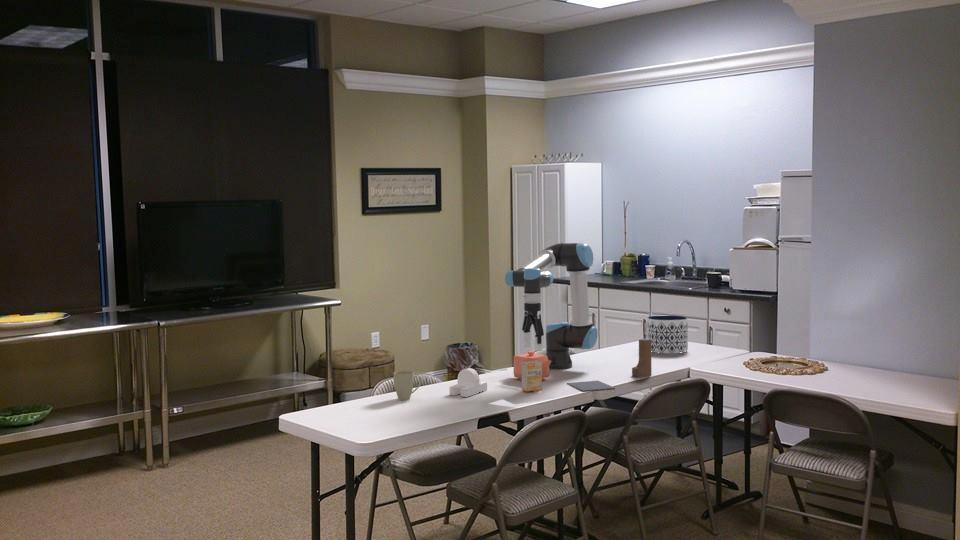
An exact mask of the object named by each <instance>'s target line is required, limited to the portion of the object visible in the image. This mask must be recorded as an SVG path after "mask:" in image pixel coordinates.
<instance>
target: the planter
mask: <svg viewBox="0 0 960 540" xmlns="http://www.w3.org/2000/svg"><path fill="white" fill-rule="evenodd" d="M688 319H689V317H687V316H683V315H673V314H672V315H670V314H669V315H668V314H664V315H662V314H661V315H659V314H658V315H650V316H647V319H646V321H647V324H646V325H647V326H646V329H647V331H646V332H647V335H646V339H650V340H651V351H653V352H659V353H680V352H685V351H687V350H688V351H689V341H688V340H689V327H688V325H689V320H688ZM653 352H652V353H653ZM659 353H658V354H659Z"/></svg>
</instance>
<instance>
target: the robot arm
mask: <svg viewBox="0 0 960 540" xmlns="http://www.w3.org/2000/svg"><path fill="white" fill-rule="evenodd" d="M593 261H594V252H593V249H592V248H591V246H590V245H589V244H587V243H583V242H582V243H581V242H569V243H567V242H566V243H564V242H561V243H560V242H559V243H555V244H553V245H551V246H548V247H546V248H544V249H542V250H541V251H540V252H539V253H538V255H537V256H536V257H534V258H533V259H531V260H530V261H529V262H527V263H525V264H524V265H523V266H520V267H519V268H518V269H516V270H508V271H507V272H506V273H505V274H504V275H505V276H504V281H505V284H506V286H508V287H516V288H523V291H524V292H523V293H524V294H523V299H524V300H523V302H524V303H523V305H524V306H523V308H524V309H523V310H524V314H523V315H524V316H523V320H522V321H523V322H522V328H521V329H522V331H523V333H524V334H523V339H524V340H523V342H524V343H523V344H524V345H523V347H524V348H529V347H531V327H532V325H533V330H534V332H535V335H534V337H535V338H534V339H535V347H534V348H535V351H534V352H542V351H543V349H542V348H543V347H542V346H543V345H542V340H543V339H542V338H543V336H544V335H545V340H546V341H545V348H546V352H545V355H546V356H547V357H548V360H551V363H550V365H549V370H567V369H568V370H569V369H572V368H573V361H572V359H571V355H570V349H576V350H577V349H578V350H579V349H580V350H592V349H593V348H594V347H595V345H596V343H597V339H598V336H599V335H598V328H597V327H596V326H595V325H594V324H593V321H592V320H591V319H590V309H589V306H590V305H589V292H588V289H589V288H588V272H589V271H590V270H591V269H590V268H591V267H592V266H593V264H594V262H593ZM554 267H565V270H566V271H565V272H567V273H568V274H569V284H570V285H569V286H570V288H569V289H570V302H571V320H570V322H568V321H560V322H551V323H549V324H547V325H546V327H545V331H544V327H543V323H542V315H541V313H538V312H540V311H541V310H542V309H541V308H542V305H541V304H542V303H541V301H542V293H541V288H542V289H543V288H548V287H550V286H551V285H552V284H553V282H554V276H553V274H552V273H551V272H550V271H548V270H546V269H551V268H554ZM593 325H594V326H593ZM544 332H545V333H544Z"/></svg>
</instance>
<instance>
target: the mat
mask: <svg viewBox="0 0 960 540" xmlns="http://www.w3.org/2000/svg"><path fill="white" fill-rule="evenodd" d="M566 384H567V385H569V386H570V387H572V388H574V389H576V390H579V391H580V392H583V393H584V392H596V391H606V390H607V391H608V390H616V387H614V386H612V385H609V384H608V383H605V382H602V381H600V380H590V381H589V380H588V381H575V382H567V383H566Z"/></svg>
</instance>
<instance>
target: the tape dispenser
mask: <svg viewBox="0 0 960 540" xmlns="http://www.w3.org/2000/svg"><path fill="white" fill-rule="evenodd" d="M485 390H486V391H488V382H487V381H480V376H479V373H478V372H477V370H476V369H474V368H471V367H468V368H464V369H462V370H460V371H459V373H458V374H457V384H453V385H451V386H449V396H457V395H460V397H463V398H469V397H470V396H473V395H478V394H479V392H480V393H483V392H485ZM482 391H483V392H482Z"/></svg>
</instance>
